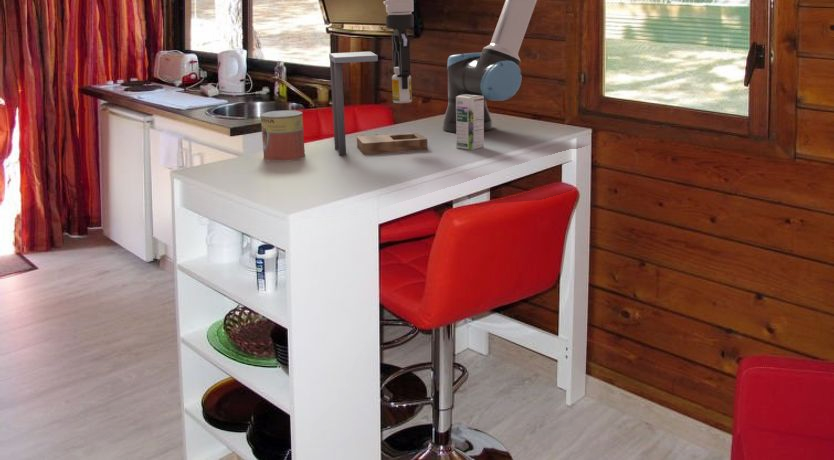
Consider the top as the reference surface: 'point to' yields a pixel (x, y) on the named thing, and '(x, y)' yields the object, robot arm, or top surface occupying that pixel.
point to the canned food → (282, 135)
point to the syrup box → (469, 122)
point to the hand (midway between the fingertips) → (402, 99)
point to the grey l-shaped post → (337, 92)
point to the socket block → (391, 143)
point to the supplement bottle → (396, 87)
